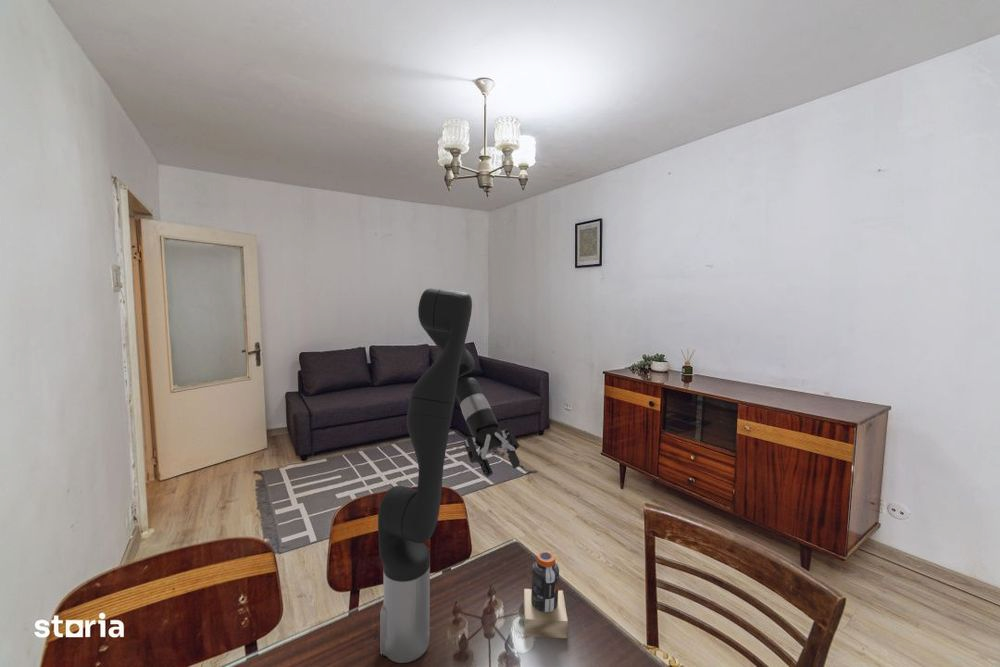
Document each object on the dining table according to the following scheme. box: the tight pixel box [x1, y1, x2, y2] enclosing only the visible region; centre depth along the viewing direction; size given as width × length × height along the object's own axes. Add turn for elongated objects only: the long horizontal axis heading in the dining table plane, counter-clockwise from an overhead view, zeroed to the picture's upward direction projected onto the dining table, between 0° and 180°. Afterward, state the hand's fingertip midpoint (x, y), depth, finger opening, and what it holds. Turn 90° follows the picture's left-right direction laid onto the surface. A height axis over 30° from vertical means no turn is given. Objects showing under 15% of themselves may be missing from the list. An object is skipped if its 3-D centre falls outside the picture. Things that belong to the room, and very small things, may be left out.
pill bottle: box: [531, 550, 560, 612], centre depth 92 cm, size 6×6×11 cm
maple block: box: [523, 588, 569, 639], centre depth 93 cm, size 9×9×4 cm
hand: (503, 471), depth 103 cm, fingers open, 8 cm apart
